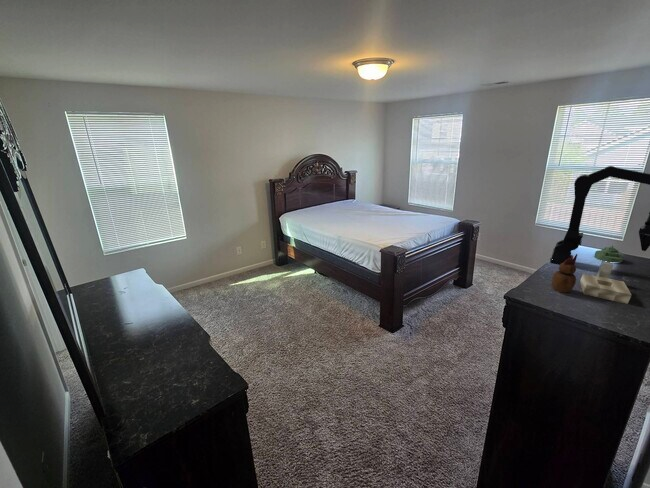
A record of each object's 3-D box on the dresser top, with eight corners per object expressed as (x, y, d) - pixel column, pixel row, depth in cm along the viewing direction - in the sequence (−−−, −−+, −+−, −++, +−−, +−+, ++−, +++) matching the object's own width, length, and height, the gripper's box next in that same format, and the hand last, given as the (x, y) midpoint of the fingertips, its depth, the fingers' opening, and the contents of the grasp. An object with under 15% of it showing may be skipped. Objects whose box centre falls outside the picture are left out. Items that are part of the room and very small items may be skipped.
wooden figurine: (567, 288, 116) (579, 252, 110) (573, 295, 110) (586, 258, 105) (547, 285, 118) (558, 250, 112) (552, 292, 112) (563, 255, 107)
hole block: (583, 294, 111) (586, 285, 110) (579, 282, 121) (582, 273, 119) (627, 304, 105) (631, 294, 104) (619, 290, 114) (623, 281, 113)
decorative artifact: (619, 258, 145) (592, 253, 151) (625, 245, 143) (597, 240, 148) (623, 265, 138) (594, 260, 143) (629, 251, 135) (599, 246, 141)
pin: (596, 281, 120) (603, 263, 118) (595, 279, 123) (601, 261, 120) (606, 283, 119) (613, 265, 116) (605, 281, 121) (611, 262, 118)
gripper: (693, 218, 102) (672, 260, 107) (696, 210, 113) (678, 249, 118) (647, 211, 110) (630, 250, 116) (654, 204, 121) (638, 241, 127)
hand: (645, 248), depth 119 cm, fingers open, 9 cm apart
